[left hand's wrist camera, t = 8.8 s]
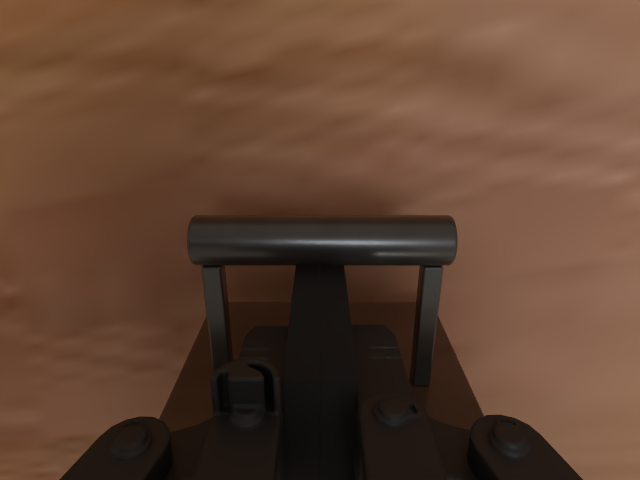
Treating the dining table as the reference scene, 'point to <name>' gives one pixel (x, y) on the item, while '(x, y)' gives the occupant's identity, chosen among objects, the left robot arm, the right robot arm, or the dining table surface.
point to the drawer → (400, 318)
